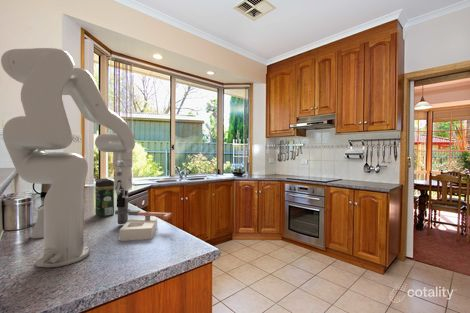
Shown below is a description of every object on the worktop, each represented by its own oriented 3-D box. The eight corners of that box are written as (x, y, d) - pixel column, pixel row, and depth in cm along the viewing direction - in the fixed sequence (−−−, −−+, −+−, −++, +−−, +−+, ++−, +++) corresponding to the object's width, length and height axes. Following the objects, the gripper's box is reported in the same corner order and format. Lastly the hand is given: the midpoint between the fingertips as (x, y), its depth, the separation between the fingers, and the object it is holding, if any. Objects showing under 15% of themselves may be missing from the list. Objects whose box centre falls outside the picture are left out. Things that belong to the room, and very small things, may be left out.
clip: (123, 217, 91) (123, 213, 91) (131, 213, 96) (131, 210, 96) (166, 219, 89) (166, 215, 89) (172, 215, 94) (172, 211, 94)
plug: (128, 224, 96) (128, 196, 96) (113, 225, 95) (113, 196, 95) (131, 220, 102) (132, 194, 102) (117, 221, 101) (117, 194, 101)
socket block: (151, 238, 84) (151, 223, 84) (119, 240, 82) (119, 225, 81) (157, 226, 97) (157, 213, 97) (129, 228, 95) (129, 214, 95)
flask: (40, 240, 82) (40, 212, 82) (24, 238, 83) (24, 211, 83) (59, 233, 89) (59, 207, 89) (44, 231, 90) (44, 206, 90)
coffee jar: (93, 214, 117) (93, 178, 117) (110, 211, 122) (110, 177, 122) (98, 218, 110) (98, 179, 109) (115, 215, 115) (116, 178, 115)
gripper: (126, 164, 91) (126, 210, 91) (136, 163, 108) (136, 201, 108) (106, 164, 90) (106, 210, 90) (119, 163, 106) (119, 202, 106)
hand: (122, 205), depth 99 cm, fingers open, 4 cm apart
